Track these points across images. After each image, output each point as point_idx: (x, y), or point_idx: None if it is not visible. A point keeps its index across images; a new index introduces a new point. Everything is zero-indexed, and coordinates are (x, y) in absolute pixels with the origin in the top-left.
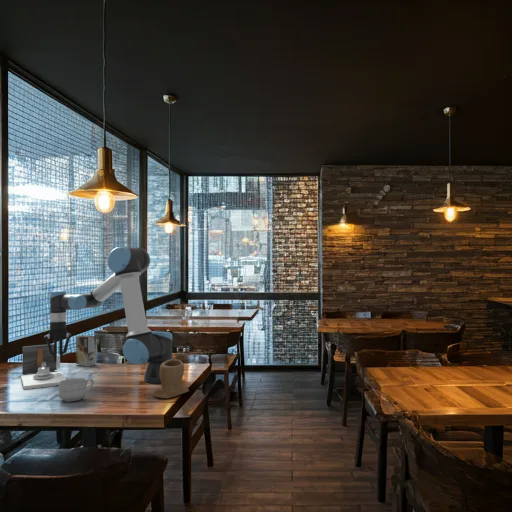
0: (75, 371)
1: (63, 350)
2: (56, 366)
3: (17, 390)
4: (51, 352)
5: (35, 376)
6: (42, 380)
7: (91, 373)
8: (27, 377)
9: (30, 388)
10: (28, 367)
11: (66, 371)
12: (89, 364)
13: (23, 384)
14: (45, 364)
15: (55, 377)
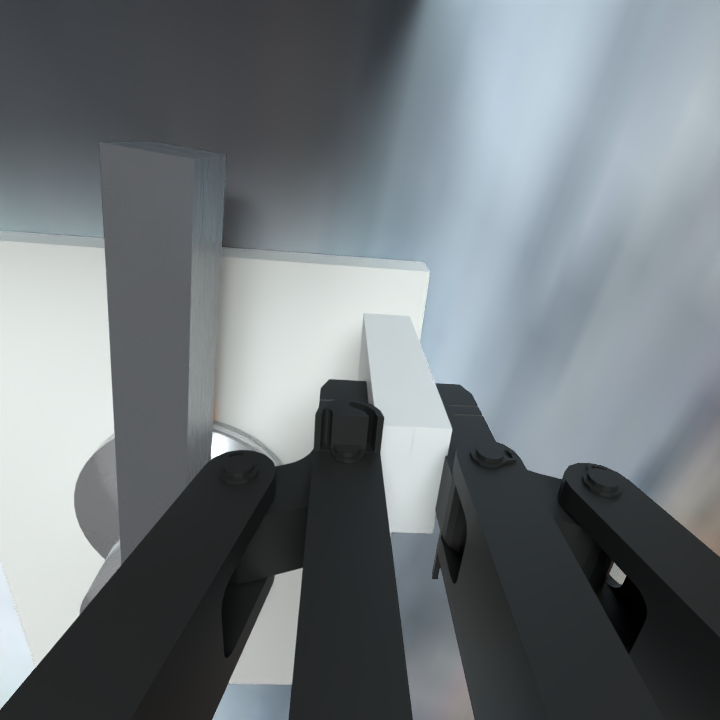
0: (636, 189)
1: (586, 531)
2: (360, 378)
3: (10, 650)
4: (234, 597)
5: (100, 521)
6: None
7: (704, 413)
8: (11, 398)
9: None
10: None
11: (545, 103)
12: None
13: (26, 637)
14: (177, 443)
15: None
